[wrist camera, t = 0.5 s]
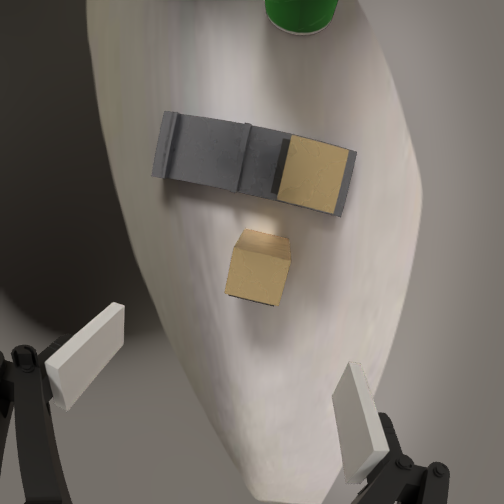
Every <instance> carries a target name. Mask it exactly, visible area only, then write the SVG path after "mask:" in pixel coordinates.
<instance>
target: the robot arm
mask: <svg viewBox="0 0 504 504" xmlns="http://www.w3.org/2000/svg"><path fill="white" fill-rule="evenodd" d="M124 307H125V306H124V305H121V304H118V303H115V302H113V303H112V304H110V305H109V306H108V307H107V308H106V309H105V310H103V311H102V312H101V313H100V314H99V315H97V316H96V317H95V318H94V319H93V320H92V321H90V322H89V323H88V324H87V325H86V326H85V327H84V328H82V329H81V330H80V331H79V332H78V333H77V334H75V335H74V336H72V335H70V334H65V335H63V336H60V337H59V338H58V339H56V340H55V341H54V343H52V344H51V345H50V346H49V347H47V348H46V349H45V350H44V351H42V352H41V353H40V354H39V355H38V356H37V353H36V350H35V349H34V348H33V347H32V346H29V345H19V346H17V347H15V348H14V349H13V350H12V352H11V355H12V359H13V362H10V361H6V360H5V359H4V356H3V353H2V352H1V351H0V474H1V467H2V460H3V454H4V448H5V443H6V437H7V433H8V428H9V424H10V419H11V415H12V411H13V407H14V408H15V426H16V427H15V428H16V440H17V449H18V458H19V465H20V472H21V478H22V483H23V488H24V493H25V498H26V502H25V503H24V504H72V501H71V498H70V495H69V491H68V488H67V485H66V482H65V478H64V474H63V471H62V466H61V462H60V459H59V454H58V450H57V445H56V440H55V435H54V429H53V423H52V417H51V411H50V404H49V400H50V399H51V398H52V397H53V399H54V403H55V405H56V406H58V407H60V408H62V409H63V410H65V411H68V410H69V409H70V408H71V406H72V405H73V404H74V403H75V402H76V400H77V399H78V398H79V397H80V395H81V394H82V393H83V392H84V390H85V389H86V388H87V387H88V386H89V385H90V383H91V382H92V381H93V380H94V379H95V377H96V376H97V375H98V374H99V372H100V371H101V370H102V369H103V368H104V367H105V365H106V364H107V363H108V362H109V361H110V359H111V358H112V357H113V356H114V355H115V354H116V352H117V351H118V350H119V349H120V347H122V345H123V344H124ZM332 400H333V406H334V411H335V417H336V423H337V429H338V435H339V441H340V448H341V454H342V461H343V467H344V474H345V481H346V484H361V483H362V481H363V480H364V479H365V478H367V483H368V484H367V485H366V486H365V487H364V488H363V489H362V490H361V491H360V492H359V493H358V496H357V497H356V498H355V499H354V500H353V502H352V503H351V504H394V503H395V501H397V504H447V498H448V489H449V478H450V473H449V469H448V468H447V466H446V465H444V464H443V463H440V462H433V463H431V464H430V465H429V466H428V467H422V466H417V465H414V462H413V461H412V459H411V458H409V457H408V456H407V455H404V454H403V453H402V450H401V447H400V444H399V441H398V438H397V436H396V434H395V430H394V428H393V424H392V422H391V419H390V418H389V417H388V416H387V414H385V413H378V412H377V409H376V406H375V403H374V400H373V397H372V394H371V391H370V389H369V386H368V383H367V380H366V377H365V374H364V371H363V369H362V366H361V364H360V363H354V362H348V364H347V367H346V369H345V371H344V373H343V375H342V377H341V379H340V381H339V383H338V385H337V387H336V389H335V391H334V393H333V395H332Z"/></svg>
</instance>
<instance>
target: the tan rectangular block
mask: <svg viewBox="0 0 504 504" xmlns="http://www.w3.org/2000/svg"><path fill="white" fill-rule="evenodd" d="M290 263H291V254H290V243H289V239H287V238H283V237H279V236H275V235H271V234H266V233H262V232H258V231H254V230H249V229H244V231H243V233H242V234H241V236H240V238H239V239H238V241H237V243H236V244H235V246H234V249H233V254H232V258H231V263H230V268H229V273H228V278H227V283H226V288H225V294H228V295H229V296H233V297H237V298H241V299H245V300H249V301H253V302H258V303H262V304H266V305H270V306H274V305H275V306H279V303H280V299H281V296H282V292H283V289H284V285H285V281H286V278H287V274H288V271H289V267H290Z"/></svg>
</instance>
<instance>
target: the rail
mask: <svg viewBox="0 0 504 504" xmlns="http://www.w3.org/2000/svg"><path fill="white" fill-rule="evenodd" d="M356 155H357V152H356V151H352V150H349V149H346V148H342V147H339V146H336V145H332V144H328V143H325V142H321V141H317V140H314V139H310V138H306V137H302V136H298V135H294V134H289V133H285V132H281V131H276V130H272V129H267V128H262V127H257V126H252V125H251V124H249V123H245V124H242V123H236V122H231V121H225V120H219V119H212V118H206V117H199V116H192V115H184V114H180V113H178V112H170V111H164V115H163V119H162V124H161V128H160V133H159V138H158V143H157V148H156V153H155V158H154V164H153V170H152V175H151V176H153V177H159V178H171V179H177V180H182V181H187V182H192V183H197V184H202V185H207V186H212V187H217V188H221V189H226V190H230V192H234V193H236V192H240V193H244V194H249V195H253V196H258V197H262V198H266V199H271V200H275V201H279V202H283V203H287V204H291V205H296V206H300V207H304V208H307V209H311V210H315V211H319V212H323V213H327V214H331V215H334V216H338V217H341V215H342V211H343V208H344V204H345V200H346V196H347V192H348V188H349V184H350V180H351V176H352V172H353V168H354V163H355V159H356Z"/></svg>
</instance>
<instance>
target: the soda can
mask: <svg viewBox="0 0 504 504" xmlns="http://www.w3.org/2000/svg"><path fill="white" fill-rule="evenodd" d="M337 2H338V0H265V7H266V14H267V16H268V18H269V19H270V21H271V22H272V23H273V24H274V25H275V26H276V27H277V28H279V29H281V30H283V31H285V32H287V33H291V34H295V35H310V34H314V33H318V32H320V31H321V30H323V29H325V28H326V27H327V26H328V24H329V23H330V22H331V20H332V17H333V14H334V11H335V8H336V5H337Z"/></svg>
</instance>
